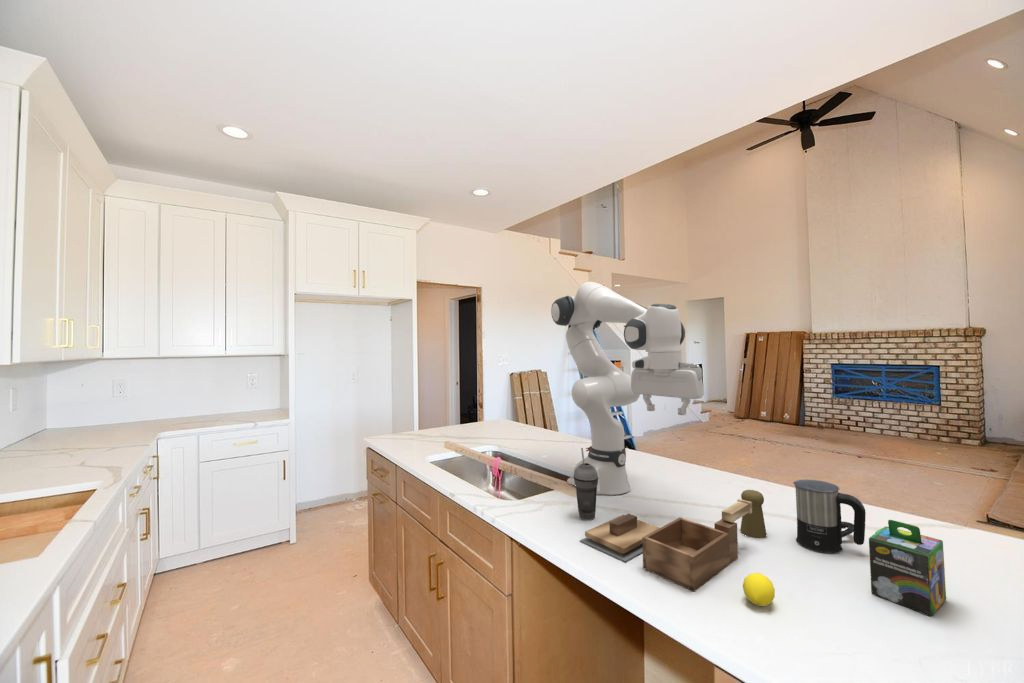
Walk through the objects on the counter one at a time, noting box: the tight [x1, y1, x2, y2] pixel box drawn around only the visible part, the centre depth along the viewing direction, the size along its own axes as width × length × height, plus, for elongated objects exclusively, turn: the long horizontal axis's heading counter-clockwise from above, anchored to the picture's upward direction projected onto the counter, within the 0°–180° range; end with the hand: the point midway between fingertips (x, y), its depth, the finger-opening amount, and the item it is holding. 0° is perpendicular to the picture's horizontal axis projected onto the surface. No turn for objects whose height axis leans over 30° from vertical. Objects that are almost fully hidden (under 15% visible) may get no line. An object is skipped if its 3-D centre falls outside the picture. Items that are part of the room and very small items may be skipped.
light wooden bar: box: [721, 498, 752, 523], centre depth 103 cm, size 3×10×3 cm, turn 129°
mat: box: [579, 537, 643, 564], centre depth 110 cm, size 14×18×1 cm
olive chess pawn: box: [739, 489, 768, 539], centre depth 112 cm, size 6×6×11 cm
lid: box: [584, 513, 660, 554], centre depth 110 cm, size 12×16×5 cm
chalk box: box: [868, 519, 947, 617], centre depth 84 cm, size 9×9×15 cm
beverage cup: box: [573, 447, 599, 521], centre depth 125 cm, size 7×7×20 cm
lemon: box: [742, 572, 776, 607], centre depth 83 cm, size 7×5×5 cm
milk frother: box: [792, 479, 867, 554], centre depth 107 cm, size 14×16×15 cm
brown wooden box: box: [642, 517, 739, 592], centre depth 98 cm, size 12×20×8 cm, turn 129°
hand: (666, 412), depth 118 cm, fingers open, 8 cm apart
